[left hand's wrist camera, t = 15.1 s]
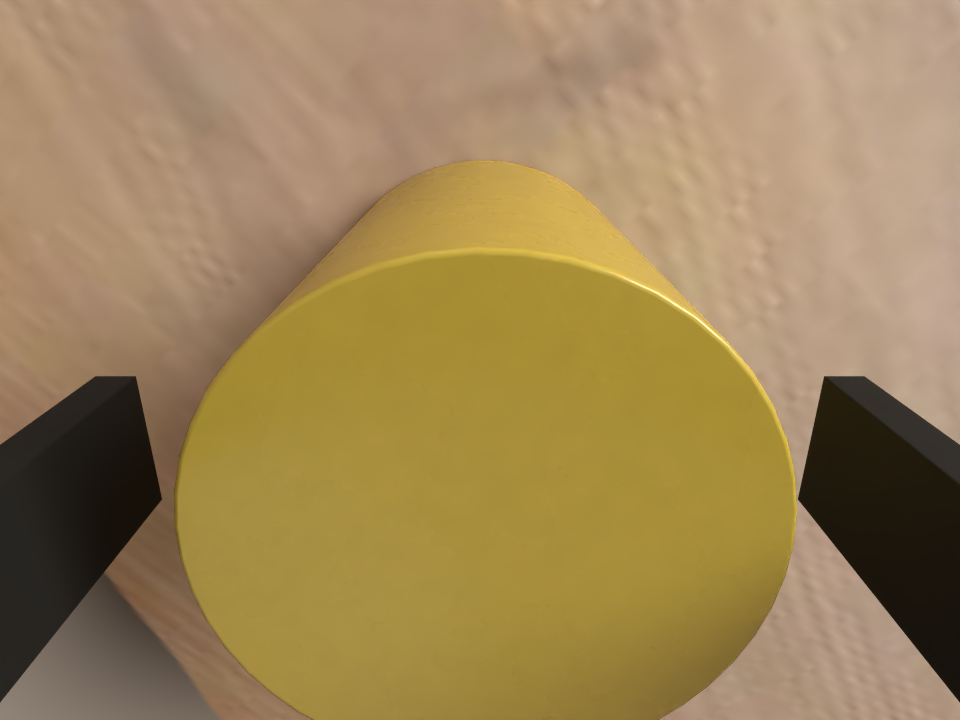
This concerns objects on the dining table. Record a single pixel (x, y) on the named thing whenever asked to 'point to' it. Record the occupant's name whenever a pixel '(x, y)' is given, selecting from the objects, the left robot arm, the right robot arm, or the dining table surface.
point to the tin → (485, 471)
